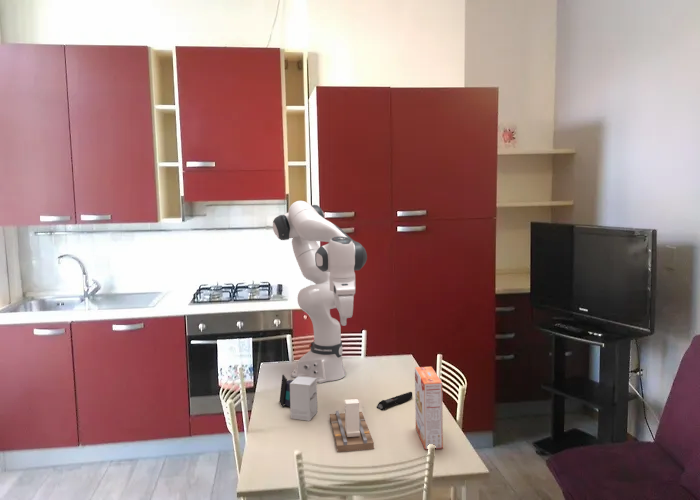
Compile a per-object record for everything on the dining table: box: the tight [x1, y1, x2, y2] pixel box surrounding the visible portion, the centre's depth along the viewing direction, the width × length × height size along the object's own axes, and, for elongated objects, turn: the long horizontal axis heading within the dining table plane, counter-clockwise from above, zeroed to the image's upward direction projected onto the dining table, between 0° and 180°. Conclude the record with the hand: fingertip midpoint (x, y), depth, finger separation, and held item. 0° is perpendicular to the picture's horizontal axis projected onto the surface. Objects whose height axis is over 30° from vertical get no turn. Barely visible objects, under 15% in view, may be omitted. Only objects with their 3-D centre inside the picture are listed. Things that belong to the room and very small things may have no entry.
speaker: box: [278, 374, 294, 408], centre depth 191 cm, size 8×6×10 cm
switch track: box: [329, 410, 375, 453], centre depth 169 cm, size 22×11×3 cm, turn 8°
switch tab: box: [344, 398, 360, 437], centre depth 164 cm, size 5×4×10 cm
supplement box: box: [289, 376, 318, 422], centre depth 182 cm, size 7×7×13 cm
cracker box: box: [414, 366, 444, 451], centre depth 163 cm, size 14×6×21 cm, turn 4°
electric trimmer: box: [376, 391, 413, 412], centre depth 191 cm, size 4×16×3 cm, turn 127°
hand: (343, 324), depth 182 cm, fingers closed
